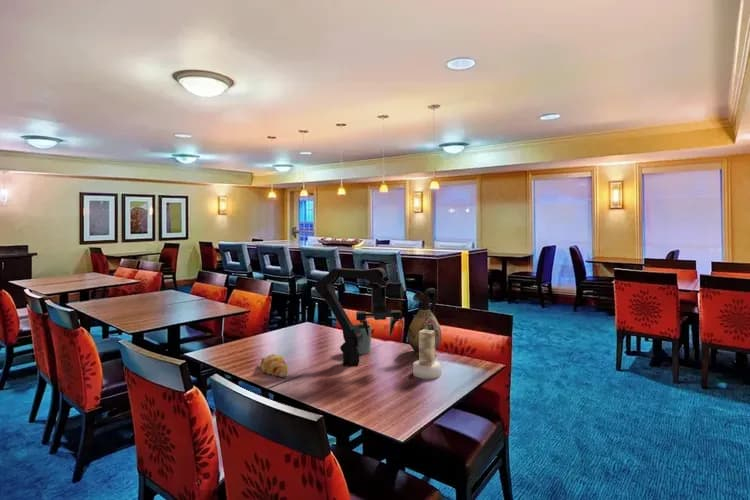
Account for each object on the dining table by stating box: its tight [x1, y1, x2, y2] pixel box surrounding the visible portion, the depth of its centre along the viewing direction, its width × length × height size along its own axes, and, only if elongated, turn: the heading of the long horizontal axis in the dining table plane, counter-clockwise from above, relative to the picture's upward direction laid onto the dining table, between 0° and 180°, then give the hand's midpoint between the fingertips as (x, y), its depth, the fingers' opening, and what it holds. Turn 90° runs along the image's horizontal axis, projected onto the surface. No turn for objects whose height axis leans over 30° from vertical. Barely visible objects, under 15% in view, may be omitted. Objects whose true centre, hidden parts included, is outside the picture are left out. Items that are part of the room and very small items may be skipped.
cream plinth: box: [412, 359, 442, 380], centre depth 170 cm, size 11×11×4 cm
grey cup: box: [353, 323, 372, 355], centre depth 200 cm, size 10×10×12 cm
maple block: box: [418, 329, 436, 367], centre depth 169 cm, size 5×5×13 cm
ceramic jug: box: [407, 287, 443, 356], centre depth 197 cm, size 17×15×30 cm
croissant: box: [260, 353, 289, 378], centre depth 175 cm, size 21×10×8 cm, turn 38°
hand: (379, 335), depth 179 cm, fingers open, 9 cm apart
